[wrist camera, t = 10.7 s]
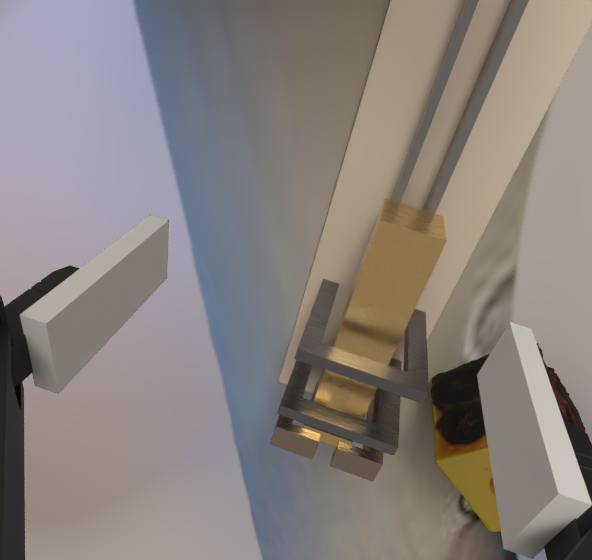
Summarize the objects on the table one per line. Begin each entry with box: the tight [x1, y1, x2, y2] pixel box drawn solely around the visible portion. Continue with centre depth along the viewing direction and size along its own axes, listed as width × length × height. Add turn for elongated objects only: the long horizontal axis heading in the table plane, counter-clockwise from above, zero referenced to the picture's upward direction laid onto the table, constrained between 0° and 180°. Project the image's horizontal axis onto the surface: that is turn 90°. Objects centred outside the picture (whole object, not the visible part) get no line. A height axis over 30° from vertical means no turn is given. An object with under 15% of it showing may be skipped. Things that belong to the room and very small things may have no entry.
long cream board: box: [279, 0, 592, 412], centre depth 35 cm, size 40×12×3 cm, turn 166°
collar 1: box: [294, 279, 429, 403], centre depth 35 cm, size 1×10×11 cm, turn 77°
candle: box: [431, 344, 590, 532], centre depth 38 cm, size 10×10×10 cm
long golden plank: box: [303, 198, 447, 447], centre depth 36 cm, size 22×4×4 cm, turn 166°
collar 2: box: [277, 358, 402, 455], centre depth 38 cm, size 1×10×11 cm, turn 77°
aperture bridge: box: [270, 388, 383, 481], centre depth 41 cm, size 2×9×10 cm, turn 76°
